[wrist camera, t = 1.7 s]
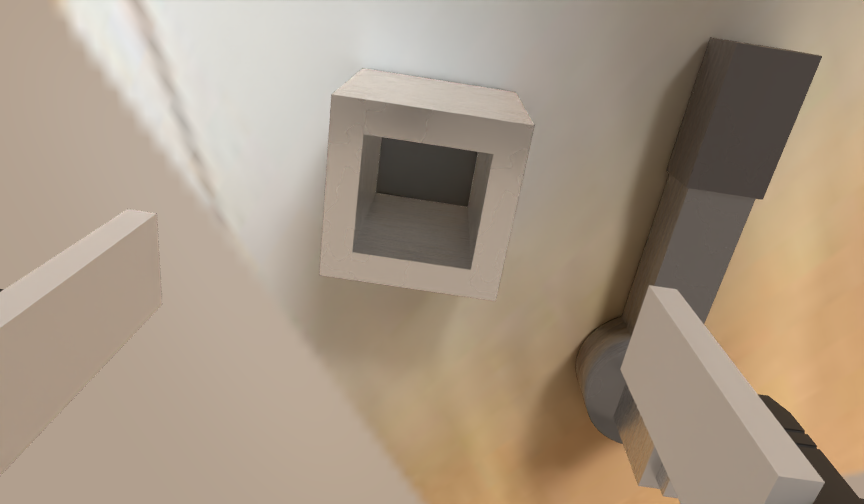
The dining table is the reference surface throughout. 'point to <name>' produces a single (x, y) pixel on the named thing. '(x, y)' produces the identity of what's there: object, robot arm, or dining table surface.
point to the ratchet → (698, 217)
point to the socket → (413, 218)
